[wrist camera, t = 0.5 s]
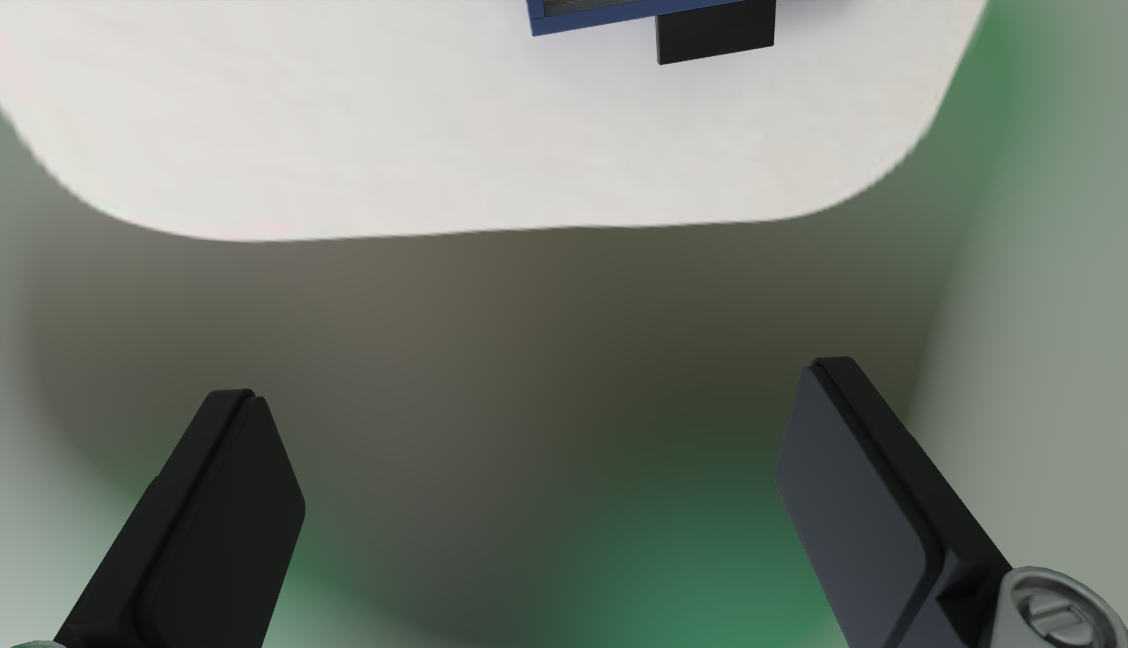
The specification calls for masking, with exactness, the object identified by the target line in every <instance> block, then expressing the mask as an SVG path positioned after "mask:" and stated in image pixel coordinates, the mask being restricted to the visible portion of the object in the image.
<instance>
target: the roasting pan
mask: <svg viewBox="0 0 1128 648" xmlns="http://www.w3.org/2000/svg"><path fill="white" fill-rule="evenodd" d="M526 2H527V8H528V14H529V21H530V27H531V32H532V36H533V37H535V36H540V35H546V34H552V33H558V32H564V31H569V30H575V29H581V28H587V27H593V26H599V25H604V24H610V23H616V22H622V21H628V20H633V19H639V18H645V17H651V16H655V25H656V44H657V62H658V64H659V65H664V64H670V63H676V62H682V61H688V60H694V59H700V58H705V57H711V56H717V55H723V54H729V53H735V52H741V51H747V50H752V49H758V48H764V47H770V46H773V45H774V31H775V11H776V0H579V1H573V2H567V3H562V4H556V5H550V6H544V3H543V0H526Z"/></svg>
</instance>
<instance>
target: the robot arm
mask: <svg viewBox="0 0 1128 648" xmlns="http://www.w3.org/2000/svg"><path fill="white" fill-rule="evenodd" d="M774 478H775V484H776V487H777V490H778V492H779V494H780V497H781V499H782V501H783V503H784V505H785V508H786V510H787V512H788V514H789V516H790V518H791V521H792V523H793V525H794V527H795V529H796V532H797V534H798V536H799V538H800V540H801V543H802V545H803V547H804V549H805V551H806V554H807V556H808V558H809V560H810V562H811V565H812V567H813V569H814V571H815V573H816V575H817V578H818V580H819V582H820V584H821V586H822V589H823V591H824V593H825V595H826V597H827V599H828V602H829V604H830V606H831V608H832V611H833V613H834V615H835V617H836V619H837V621H838V624H839V626H840V628H841V630H842V632H843V635H844V637H845V639H846V641H847V643H848V646H849V648H1128V629H1127V628H1126V626H1125V624H1124V623H1123V621H1122V620H1121V618H1120V616H1119V615H1118V614H1117V613H1116V612H1115V611H1114V609H1113V608H1112V607H1111V606H1110V605H1109V604H1108V603H1107V602H1106V601H1105V600H1104V599H1103V598H1102V597H1100V596H1099V595H1098V594H1096V593H1095V592H1094V591H1093V590H1091V589H1090V588H1089V587H1087V586H1086V585H1084V584H1082V583H1081V582H1079V581H1077V580H1075V579H1073V578H1071V577H1069V576H1067V575H1065V574H1063V573H1060V572H1057V571H1054V570H1051V569H1048V568H1042V567H1034V566H1026V567H1019V568H1014V569H1013V568H1012V567H1011V565H1010V564H1009V563H1008V561H1007V560H1006V559H1005V558H1004V556H1003V555H1002V554H1001V552H1000V551H999V550H998V548H997V547H996V546H995V544H994V543H993V542H992V540H991V539H990V538H989V536H988V535H987V534H986V532H985V531H984V530H983V528H982V527H981V526H980V524H979V523H978V522H977V520H976V519H975V518H974V517H973V515H972V514H971V513H970V511H969V510H968V509H967V507H966V506H965V505H964V503H963V502H962V501H961V499H960V498H959V497H958V495H957V494H956V493H955V491H954V490H953V489H952V487H951V486H950V485H949V483H948V482H947V481H946V479H945V478H944V477H943V476H942V474H941V473H940V471H939V470H938V469H937V467H936V466H935V465H934V464H933V462H932V461H931V460H930V458H929V457H928V456H927V454H926V453H925V452H924V451H923V449H922V448H921V447H920V445H919V444H918V442H917V441H916V440H915V438H914V437H913V436H912V435H911V434H910V433H909V432H908V431H907V430H906V428H905V427H904V426H903V424H902V423H901V422H900V420H899V419H898V418H897V416H896V415H895V414H894V412H893V411H892V410H891V408H890V407H889V406H888V404H887V403H886V402H885V400H884V399H883V398H882V396H881V395H880V394H879V392H878V391H877V390H876V388H875V387H874V386H873V384H872V383H871V382H870V380H869V379H868V378H867V376H866V375H865V374H864V372H863V371H862V370H861V369H860V367H859V366H858V365H857V363H856V362H855V361H854V360H853V359H852V358H851V357H848V356H844V357H843V356H841V357H823V358H816V359H814V360H813V361H812V363H811V365H810V366H808V367H804V368H803V370H802V372H801V375H800V379H799V382H798V386H797V390H796V393H795V397H794V400H793V404H792V408H791V411H790V415H789V419H788V422H787V426H786V429H785V433H784V436H783V440H782V444H781V447H780V451H779V455H778V458H777V462H776V465H775V470H774ZM304 517H305V501H304V497H303V495H302V492H301V489H300V487H299V485H298V482H297V479H296V476H295V474H294V472H293V469H292V466H291V464H290V461H289V458H288V456H287V453H286V451H285V448H284V446H283V443H282V441H281V438H280V435H279V433H278V430H277V428H276V425H275V422H274V420H273V417H272V414H271V412H270V409H269V407H268V404H267V402H266V400H265V399H264V398H263V397H256V395H255V393H254V392H253V391H252V390H251V389H231V390H214V391H212V392H210V393H209V394H208V396H207V397H206V398H205V400H204V402H203V403H202V405H201V407H200V408H199V410H198V411H197V413H196V415H195V416H194V418H193V420H192V421H191V423H190V425H189V427H188V428H187V429H186V431H185V433H184V434H183V436H182V438H181V439H180V441H179V443H178V444H177V446H176V448H175V449H174V451H173V452H172V454H171V456H170V457H169V459H168V461H167V462H166V464H165V465H164V467H163V469H162V470H161V472H160V474H159V475H158V476H156V477H155V478H154V480H153V481H152V482H151V483H150V485H149V486H148V488H147V489H146V491H145V492H144V494H143V496H142V497H141V499H140V500H139V502H138V504H137V505H136V507H135V508H134V510H133V512H132V513H131V515H130V517H129V518H128V520H127V521H126V523H125V525H124V526H123V528H122V529H121V531H120V533H119V534H118V536H117V538H116V539H115V541H114V542H113V544H112V546H111V548H110V549H109V551H108V552H107V554H106V556H105V557H104V559H103V561H102V562H101V563H100V565H99V567H98V568H97V570H96V572H95V573H94V575H93V576H92V578H91V580H90V581H89V583H88V585H87V586H86V588H85V589H84V591H83V593H82V594H81V596H80V598H79V599H78V601H77V602H76V604H75V606H74V607H73V609H72V611H71V612H70V614H69V616H68V617H67V619H66V620H65V622H64V623H63V625H62V627H61V628H60V630H59V632H58V633H57V635H56V636H55V638H54V640H53V641H32V642H28V643H24V644H20V645H17V646H13V647H11V648H262V645H263V641H264V638H265V635H266V632H267V629H268V626H269V623H270V620H271V617H272V614H273V611H274V608H275V605H276V602H277V599H278V596H279V593H280V590H281V587H282V584H283V581H284V578H285V575H286V572H287V569H288V566H289V563H290V560H291V557H292V554H293V551H294V548H295V545H296V542H297V539H298V536H299V533H300V530H301V527H302V524H303V521H304Z"/></svg>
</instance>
